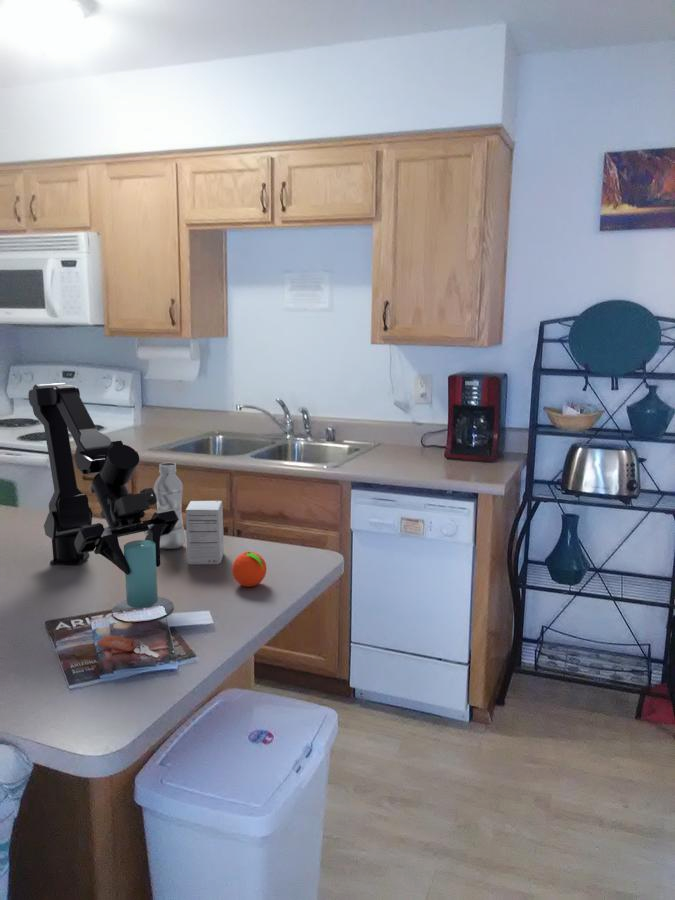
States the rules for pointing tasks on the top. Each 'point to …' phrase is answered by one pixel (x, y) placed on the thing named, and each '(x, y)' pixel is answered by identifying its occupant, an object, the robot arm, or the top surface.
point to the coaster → (161, 601)
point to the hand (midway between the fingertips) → (144, 569)
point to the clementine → (249, 569)
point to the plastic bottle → (170, 503)
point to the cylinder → (141, 573)
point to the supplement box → (204, 532)
